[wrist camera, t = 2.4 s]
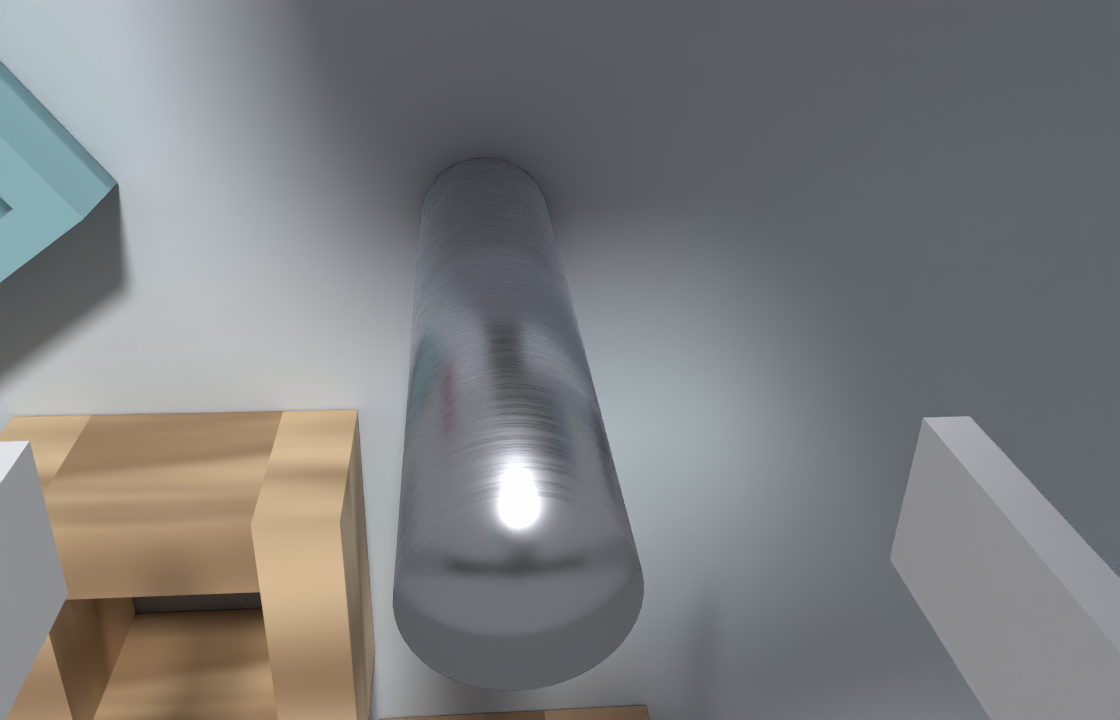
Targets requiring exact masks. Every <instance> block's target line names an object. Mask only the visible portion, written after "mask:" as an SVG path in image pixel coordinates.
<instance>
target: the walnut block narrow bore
mask: <svg viewBox="0 0 1120 720" xmlns="http://www.w3.org/2000/svg"><path fill="white" fill-rule="evenodd" d="M379 720H649V716H648V711H647V707H646V705H640V706H621V707H602V708H583V709H564V710H545V711H526V712H507V713H488V714H469V715H450V716H431V717H412V718H393V719H379Z"/></svg>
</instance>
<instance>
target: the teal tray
mask: <svg viewBox="0 0 1120 720" xmlns="http://www.w3.org/2000/svg"><path fill="white" fill-rule="evenodd" d="M116 184H117V182H116V181H115V180H114V178H113V177H112V176H111V175H110V174H109V173H108V172H107V171H106V170H105V169H104V168H103V167H102V166H101V165H100V164H99V163H98V162H97V161H96V160H95V159H94V158H93V157H92V156H91V155H90V154H89V152H88V151H87V150H86V149H85V148H84V147H83V146H82V145H81V144H80V143H79V142H78V141H77V140H76V139H75V138H74V137H73V136H72V135H71V134H70V133H69V132H68V131H67V130H66V129H65V128H64V127H63V125H62V124H61V123H60V122H59V121H58V120H57V119H56V118H55V117H54V116H53V115H52V114H51V113H50V112H49V111H48V110H47V109H46V108H45V107H44V106H43V105H42V104H41V103H40V102H39V101H38V100H37V98H36V97H35V96H34V95H33V94H32V93H31V92H30V91H29V90H28V89H27V88H26V87H25V86H24V85H23V84H22V83H21V82H20V81H19V80H18V79H17V78H16V77H15V76H14V75H13V74H12V73H11V71H10V70H9V69H8V68H7V67H6V66H5V65H4V64H3V63H2V62H1V61H0V282H1V281H3V280H4V279H5V278H7V277H8V276H9V275H11V274H12V273H13V272H15V271H16V270H17V269H18V268H20V267H21V266H22V265H24V264H25V263H26V262H28V261H29V260H30V259H32V258H33V257H34V256H36V255H37V254H38V253H39V252H41V251H42V250H43V249H45V248H46V247H47V246H49V245H50V244H51V243H53V242H54V241H55V240H57V239H58V238H59V237H60V236H62V235H63V234H64V233H66V232H67V231H68V230H70V229H71V228H72V227H74V226H75V225H76V224H78V223H79V222H80V221H81V220H83V219H84V218H85V217H86V216H87V215H88V214H89V213H90V211H91V210H92V209H93V208H94V207H95V206H96V205H97V204H98V203H99V202H100V201H101V200H102V199H103V198H104V197H105V196H106V194H107V193H108V192H109V191H110V190H111V189H112V188H113V187H114V186H115V185H116Z"/></svg>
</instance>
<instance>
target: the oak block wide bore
mask: <svg viewBox="0 0 1120 720" xmlns="http://www.w3.org/2000/svg"><path fill="white" fill-rule="evenodd" d="M9 441H30V444H31V448H32V452H33V456H34V460H35V464H36V468H37V472H38V476H39V480H40V484H41V488H42V492H43V496H44V500H45V504H46V508H47V512H48V516H49V520H50V524H51V528H52V532H53V536H54V540H55V544H56V548H57V552H58V556H59V560H60V564H61V568H62V571H63V575H64V579H65V583H66V587H67V591H68V595H67V597H66V599H65V601H64V603H63V605H62V607H61V609H60V611H59V613H58V615H57V617H56V620H55V622H54V624H53V626H52V628H51V630H50V632H49V634H48V636H47V638H46V640H45V642H44V644H43V646H42V648H41V650H40V652H39V654H38V656H37V658H36V660H35V662H34V664H33V666H32V668H31V670H30V672H29V674H28V676H27V678H26V680H25V682H24V684H23V686H22V688H21V690H20V692H19V694H18V696H17V698H16V700H15V702H14V704H13V706H12V708H11V710H10V712H9V714H8V716H7V718H6V720H369V711H370V700H371V688H372V677H373V666H374V655H375V649H374V635H373V621H372V607H371V593H370V579H369V565H368V551H367V537H366V523H365V509H364V495H363V481H362V467H361V453H360V439H359V425H358V411H357V410H322V411H273V412H223V413H174V414H124V415H75V416H25V417H12V419H11V420H10V421H9V423H8V424H7V426H6V427H5V428H4V430H3V431H2V432H1V434H0V442H9ZM251 592H260V595H261V602H262V609H243V610H219V611H194V612H169V613H145V614H135V609H134V605H133V600H132V597H148V596H174V595H200V594H225V593H251Z"/></svg>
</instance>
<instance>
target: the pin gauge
mask: <svg viewBox="0 0 1120 720" xmlns="http://www.w3.org/2000/svg"><path fill="white" fill-rule="evenodd" d="M643 591H644V581H643V575H642V569H641V565H640V561H639V558H638V554H637V550H636V546H635V542H634V538H633V534H632V531H631V527H630V523H629V519H628V515H627V511H626V508H625V504H624V500H623V496H622V492H621V488H620V485H619V481H618V477H617V473H616V469H615V465H614V462H613V458H612V454H611V450H610V446H609V442H608V439H607V435H606V431H605V427H604V423H603V419H602V416H601V412H600V408H599V404H598V400H597V396H596V393H595V389H594V385H593V381H592V377H591V373H590V370H589V366H588V362H587V358H586V354H585V350H584V347H583V343H582V339H581V335H580V331H579V327H578V324H577V320H576V316H575V312H574V308H573V304H572V300H571V297H570V293H569V289H568V285H567V281H566V277H565V274H564V270H563V266H562V262H561V258H560V254H559V251H558V247H557V243H556V239H555V235H554V231H553V228H552V224H551V220H550V216H549V212H548V208H547V205H546V201H545V198H544V196H543V194H542V192H541V190H540V188H539V187H538V185H537V183H536V182H535V181H534V180H533V179H532V178H531V177H530V176H529V175H528V174H527V173H526V172H525V171H523V170H522V169H520V168H519V167H517V166H515V165H513V164H511V163H509V162H506V161H503V160H499V159H494V158H476V159H471V160H466V161H463V162H460V163H458V164H456V165H454V166H452V167H450V168H449V169H447V170H446V171H444V172H443V173H442V174H441V175H440V176H439V177H438V178H437V179H436V180H435V181H434V182H433V184H432V185H431V187H430V188H429V190H428V192H427V194H426V196H425V199H424V202H423V205H422V211H421V223H420V237H419V250H418V264H417V278H416V291H415V305H414V318H413V332H412V345H411V359H410V372H409V386H408V400H407V413H406V427H405V440H404V454H403V467H402V481H401V494H400V508H399V522H398V535H397V549H396V562H395V576H394V589H393V609H394V616H395V620H396V623H397V626H398V629H399V631H400V633H401V635H402V637H403V639H404V640H405V642H406V643H407V645H408V646H409V647H410V649H411V650H412V651H413V652H414V653H415V654H416V655H417V656H418V657H419V658H420V659H421V660H422V661H423V662H424V663H426V664H427V665H428V666H430V667H431V668H432V669H434V670H435V671H437V672H439V673H441V674H442V675H444V676H446V677H448V678H451V679H453V680H455V681H458V682H461V683H464V684H467V685H470V686H475V687H480V688H485V689H493V690H527V689H535V688H540V687H546V686H550V685H553V684H557V683H560V682H563V681H566V680H568V679H571V678H573V677H576V676H578V675H580V674H582V673H584V672H586V671H588V670H590V669H591V668H593V667H594V666H596V665H597V664H599V663H600V662H602V661H603V660H604V659H605V658H607V657H608V656H609V655H610V654H611V653H613V652H614V651H615V650H616V649H617V647H618V646H619V645H620V644H621V643H622V642H623V641H624V639H625V638H626V637H627V635H628V634H629V633H630V631H631V629H632V628H633V626H634V624H635V622H636V620H637V618H638V615H639V612H640V609H641V605H642V600H643Z"/></svg>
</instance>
